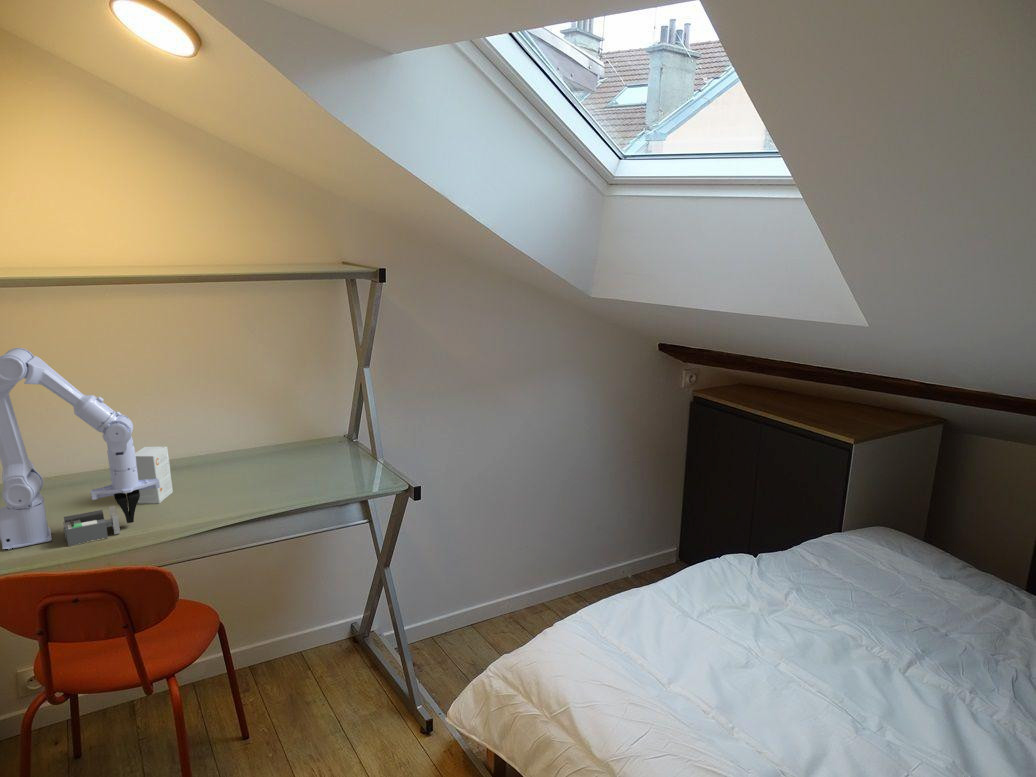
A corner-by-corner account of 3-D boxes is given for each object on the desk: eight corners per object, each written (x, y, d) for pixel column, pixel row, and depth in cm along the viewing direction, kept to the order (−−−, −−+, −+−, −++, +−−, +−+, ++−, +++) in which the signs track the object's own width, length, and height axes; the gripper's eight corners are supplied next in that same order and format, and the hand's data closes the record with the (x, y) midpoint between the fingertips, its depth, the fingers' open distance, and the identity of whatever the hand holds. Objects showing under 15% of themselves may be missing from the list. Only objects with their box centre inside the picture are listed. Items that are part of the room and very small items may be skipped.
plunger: (66, 545, 175) (63, 526, 174) (64, 533, 181) (61, 515, 180) (120, 534, 181) (118, 516, 180) (116, 523, 187) (114, 505, 186)
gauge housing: (68, 546, 175) (65, 529, 174) (66, 532, 182) (63, 515, 181) (108, 538, 179) (105, 521, 178) (104, 525, 187) (101, 508, 186)
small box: (150, 492, 208) (144, 446, 205) (173, 492, 208) (168, 446, 205) (135, 503, 200) (129, 455, 197) (159, 503, 200) (153, 455, 197)
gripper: (89, 478, 175) (97, 533, 178) (159, 466, 183) (165, 520, 186) (87, 469, 181) (94, 523, 184) (154, 458, 189) (160, 510, 192)
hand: (130, 521), depth 185 cm, fingers closed
